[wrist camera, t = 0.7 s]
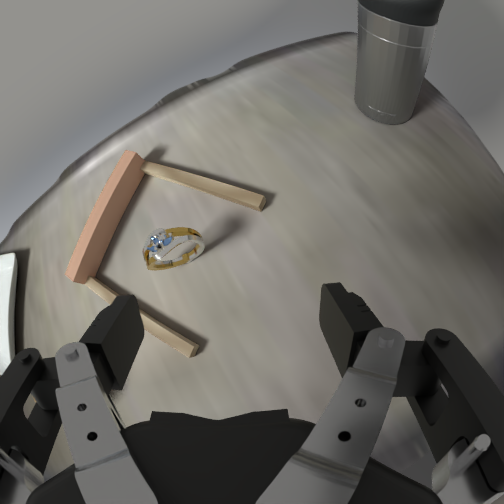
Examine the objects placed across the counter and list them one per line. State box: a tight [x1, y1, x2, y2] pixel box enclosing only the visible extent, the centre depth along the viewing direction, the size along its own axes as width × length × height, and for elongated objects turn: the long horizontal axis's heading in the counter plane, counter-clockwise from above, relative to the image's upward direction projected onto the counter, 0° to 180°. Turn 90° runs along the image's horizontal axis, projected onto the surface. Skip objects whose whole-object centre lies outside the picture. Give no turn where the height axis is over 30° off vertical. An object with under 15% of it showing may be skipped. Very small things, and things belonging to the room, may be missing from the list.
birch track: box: [85, 161, 266, 358], centre depth 34 cm, size 20×20×2 cm
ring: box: [143, 227, 204, 270], centre depth 30 cm, size 7×3×8 cm, turn 111°
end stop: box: [65, 150, 145, 284], centre depth 37 cm, size 20×2×4 cm, turn 155°
